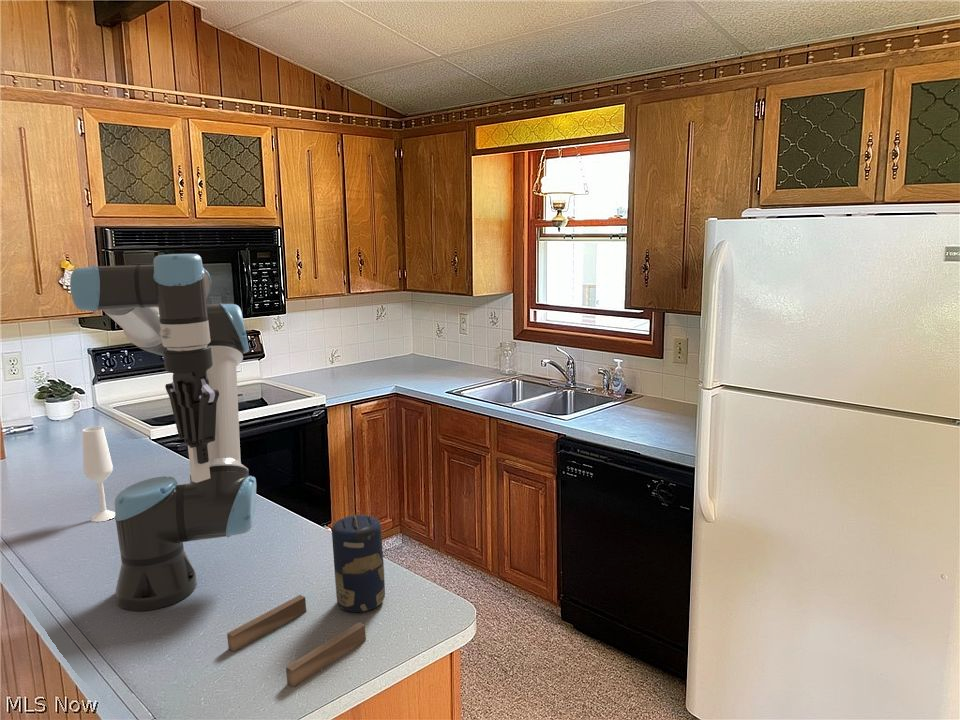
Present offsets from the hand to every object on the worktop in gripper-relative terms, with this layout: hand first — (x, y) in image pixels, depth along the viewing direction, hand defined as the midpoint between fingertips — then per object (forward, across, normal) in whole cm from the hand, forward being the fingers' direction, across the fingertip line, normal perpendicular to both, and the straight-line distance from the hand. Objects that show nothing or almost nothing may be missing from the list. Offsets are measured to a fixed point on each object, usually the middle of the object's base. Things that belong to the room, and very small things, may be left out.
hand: (201, 479), depth 122 cm
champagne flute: (+31, -74, +14) cm, 81 cm away
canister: (+31, +13, +23) cm, 41 cm away
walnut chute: (+30, +14, +7) cm, 34 cm away
